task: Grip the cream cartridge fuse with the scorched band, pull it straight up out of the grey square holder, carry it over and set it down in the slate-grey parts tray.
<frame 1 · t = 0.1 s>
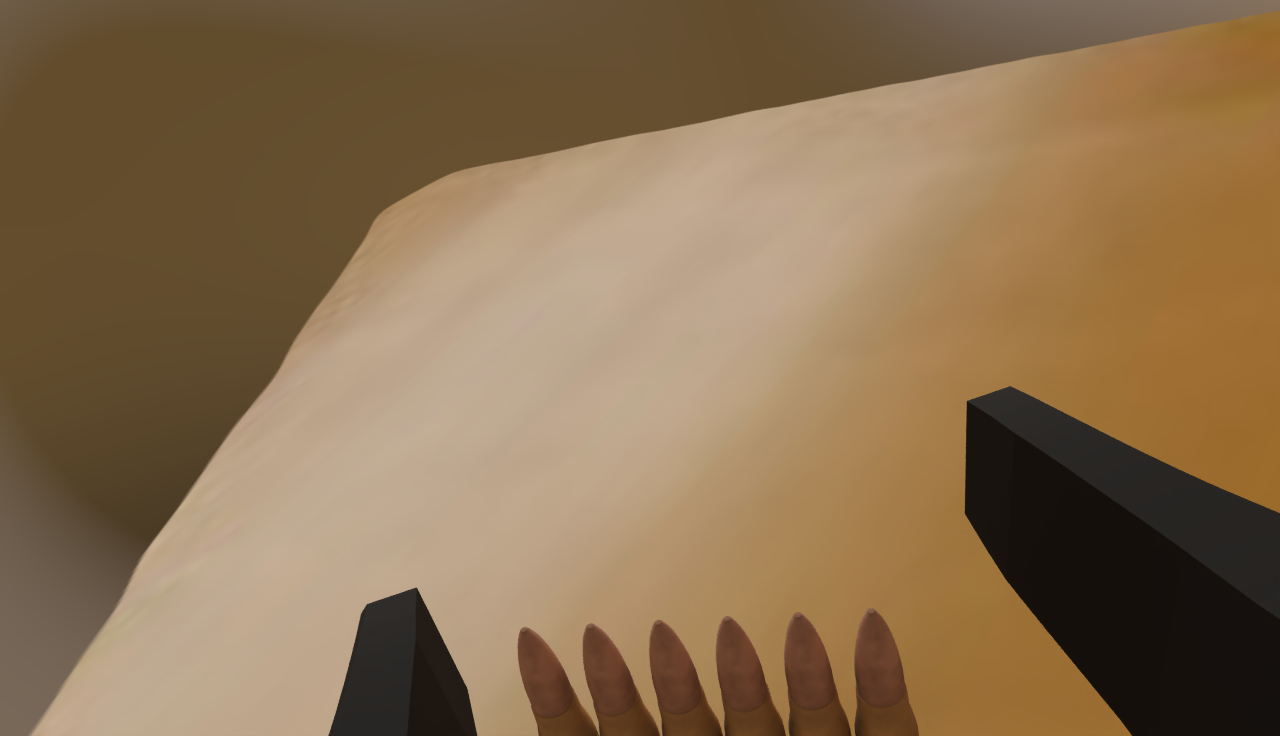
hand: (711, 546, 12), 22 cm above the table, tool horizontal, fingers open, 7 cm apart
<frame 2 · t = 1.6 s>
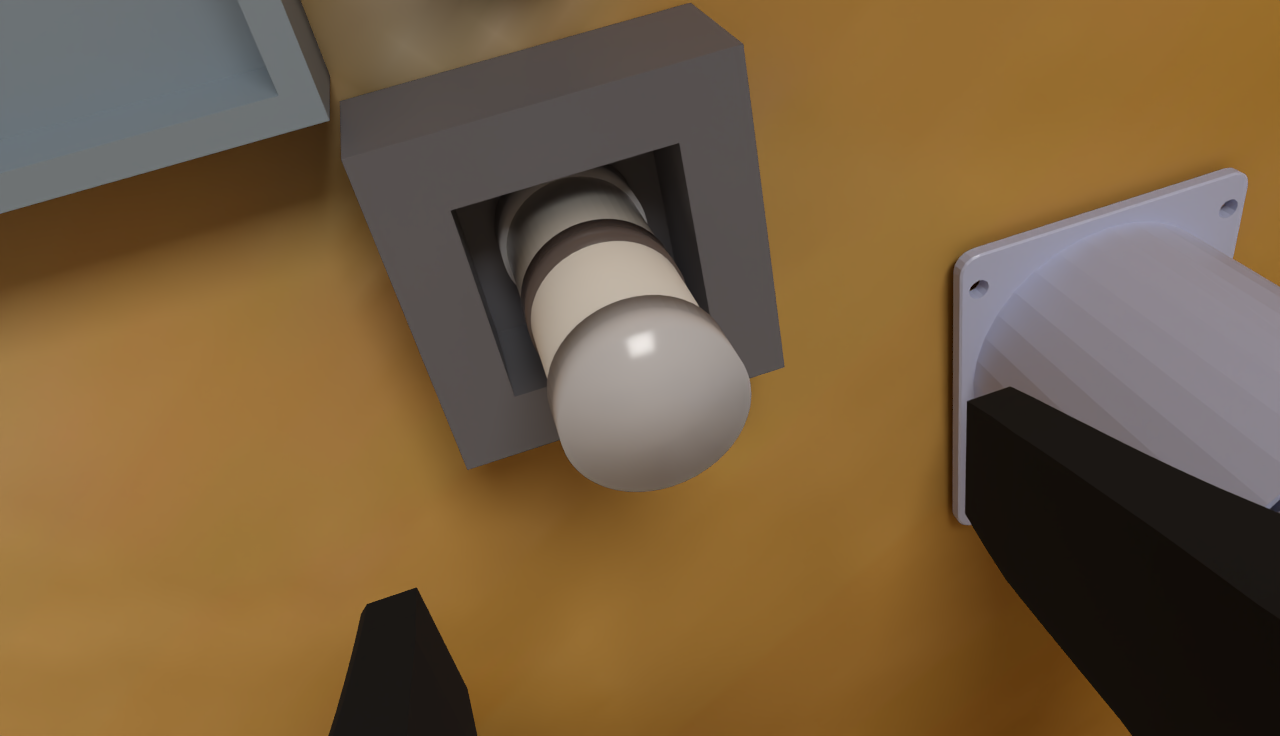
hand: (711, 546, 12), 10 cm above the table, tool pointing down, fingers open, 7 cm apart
grey square holder: (561, 211, 21), on the table
fuse: (566, 221, 20), point 1 cm above the table, touching grey square holder
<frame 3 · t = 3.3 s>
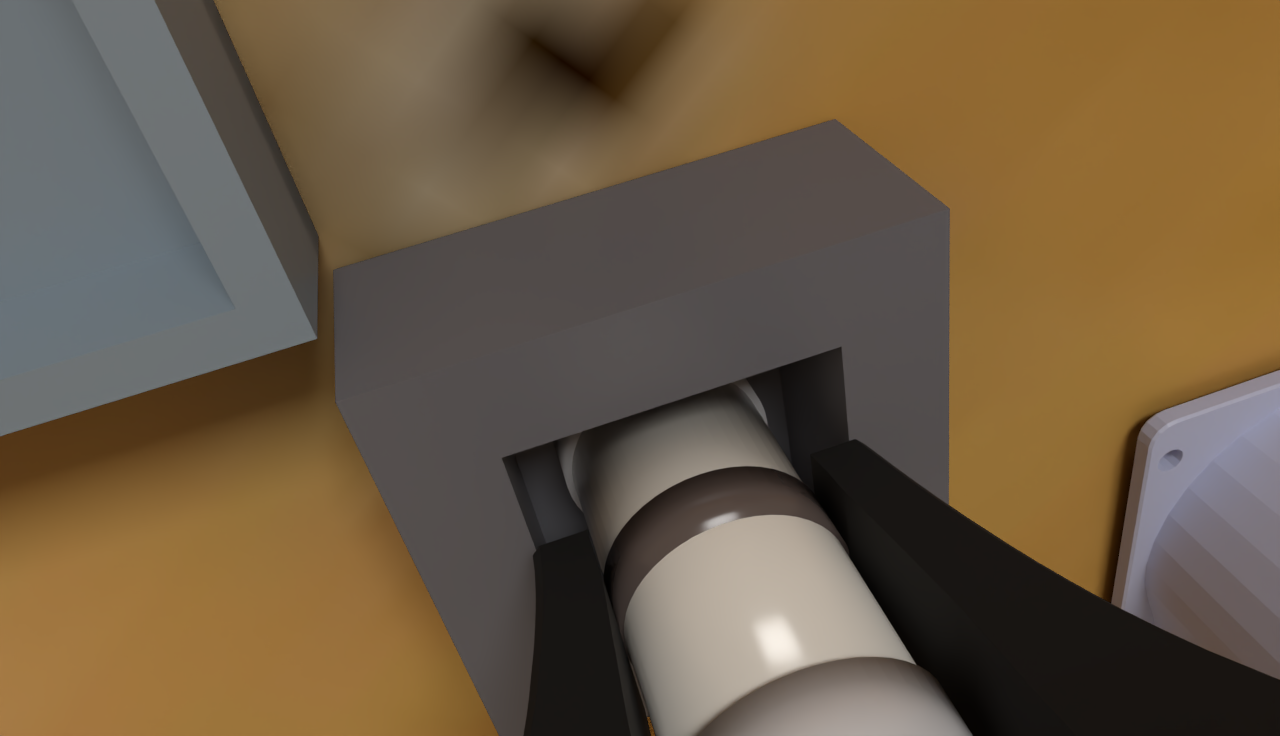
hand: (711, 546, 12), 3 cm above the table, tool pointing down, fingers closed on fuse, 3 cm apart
grey square holder: (640, 394, 15), on the table
fuse: (649, 413, 14), point 1 cm above the table, touching grey square holder, gripper
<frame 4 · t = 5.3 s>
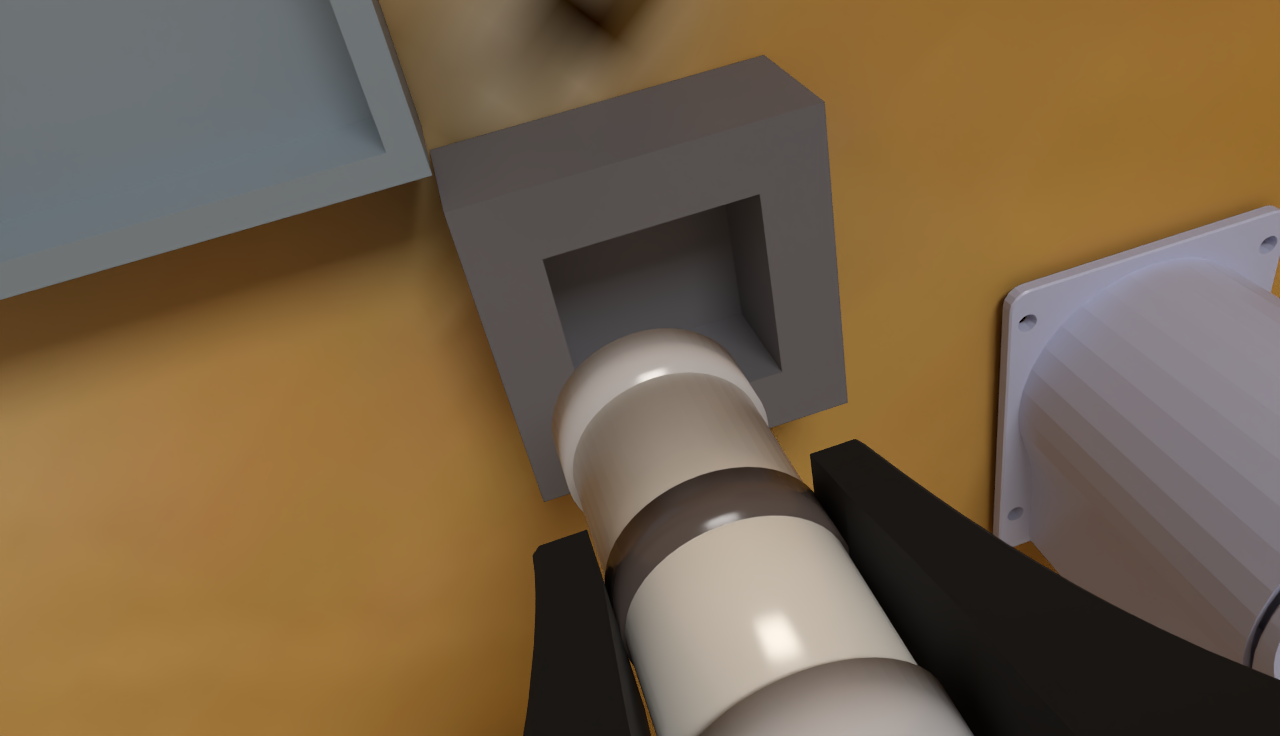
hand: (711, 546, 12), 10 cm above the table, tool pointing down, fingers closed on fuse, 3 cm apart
grey square holder: (633, 252, 21), on the table
fuse: (650, 414, 14), point 7 cm above the table, touching gripper
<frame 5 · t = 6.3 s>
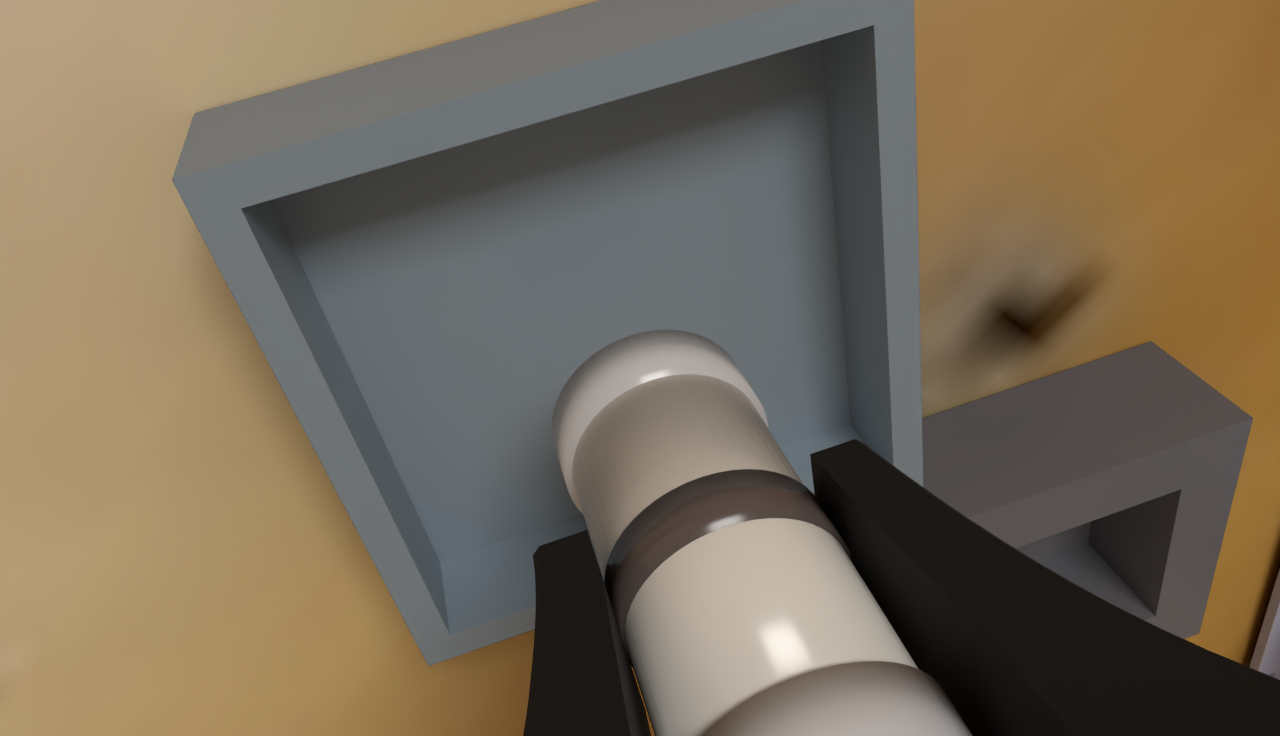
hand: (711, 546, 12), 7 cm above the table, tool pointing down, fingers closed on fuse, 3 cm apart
grey square holder: (1005, 498, 24), on the table
parts tray: (597, 297, 17), on the table
fuse: (650, 415, 14), point 4 cm above the table, touching gripper
when the fingers open (5 cm above the table, at t = 7.3 s): fuse drops 1 cm, resting on parts tray.
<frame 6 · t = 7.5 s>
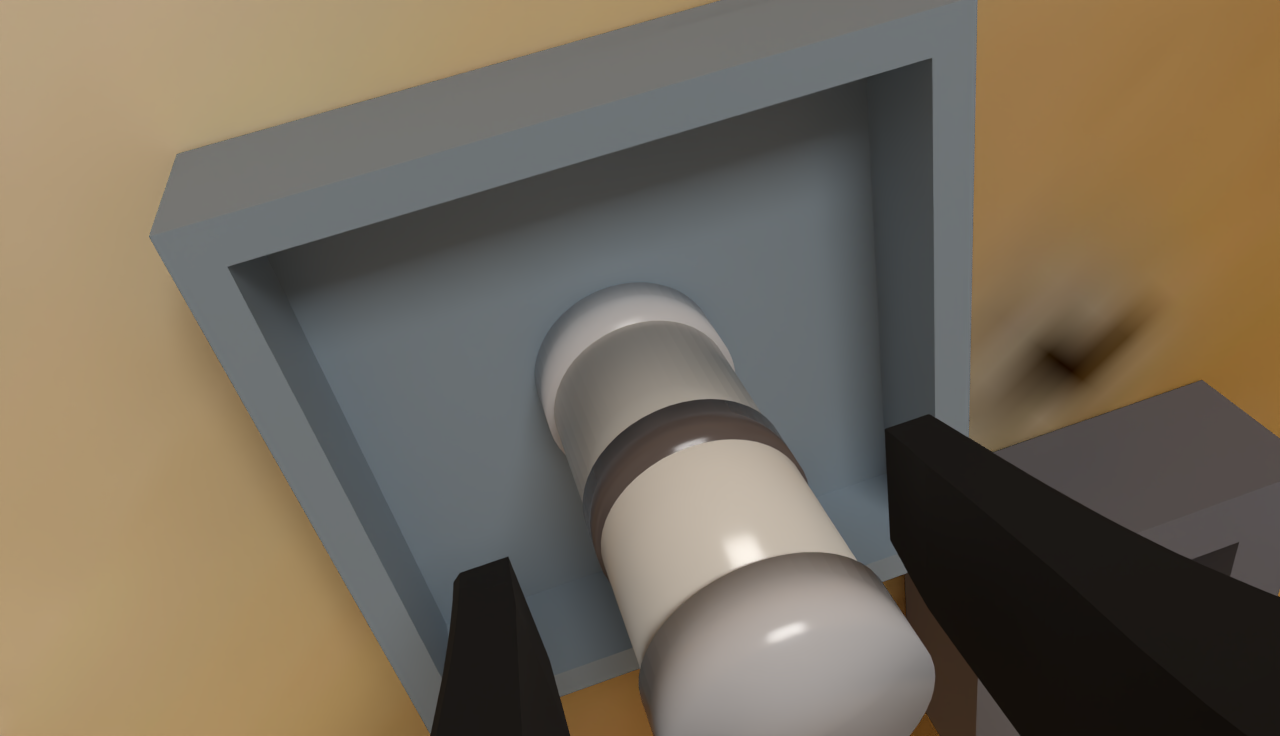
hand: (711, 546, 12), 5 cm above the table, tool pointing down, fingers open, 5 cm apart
grey square holder: (1044, 543, 22), on the table
parts tray: (617, 344, 16), on the table
fuse: (626, 364, 16), point 1 cm above the table, touching parts tray
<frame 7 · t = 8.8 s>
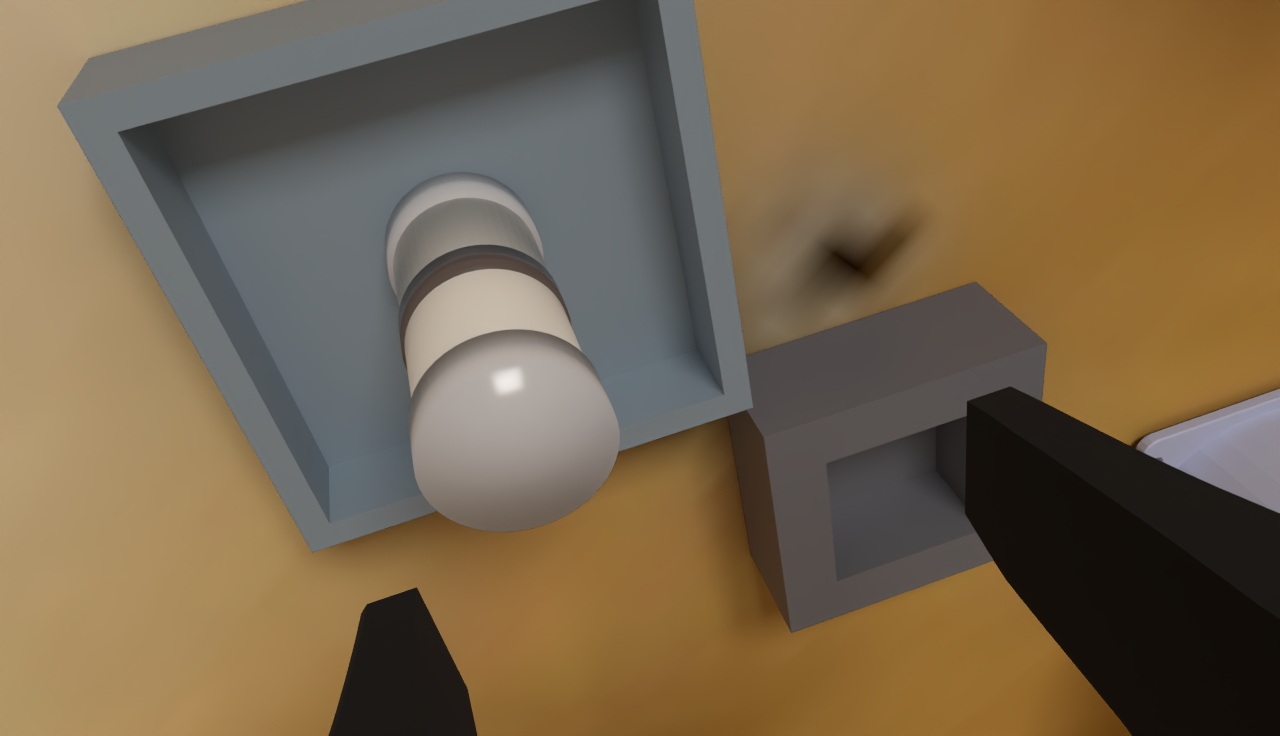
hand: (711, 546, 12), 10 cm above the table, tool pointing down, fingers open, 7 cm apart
grey square holder: (856, 426, 26), on the table
parts tray: (457, 229, 20), on the table
fuse: (461, 242, 19), point 1 cm above the table, touching parts tray
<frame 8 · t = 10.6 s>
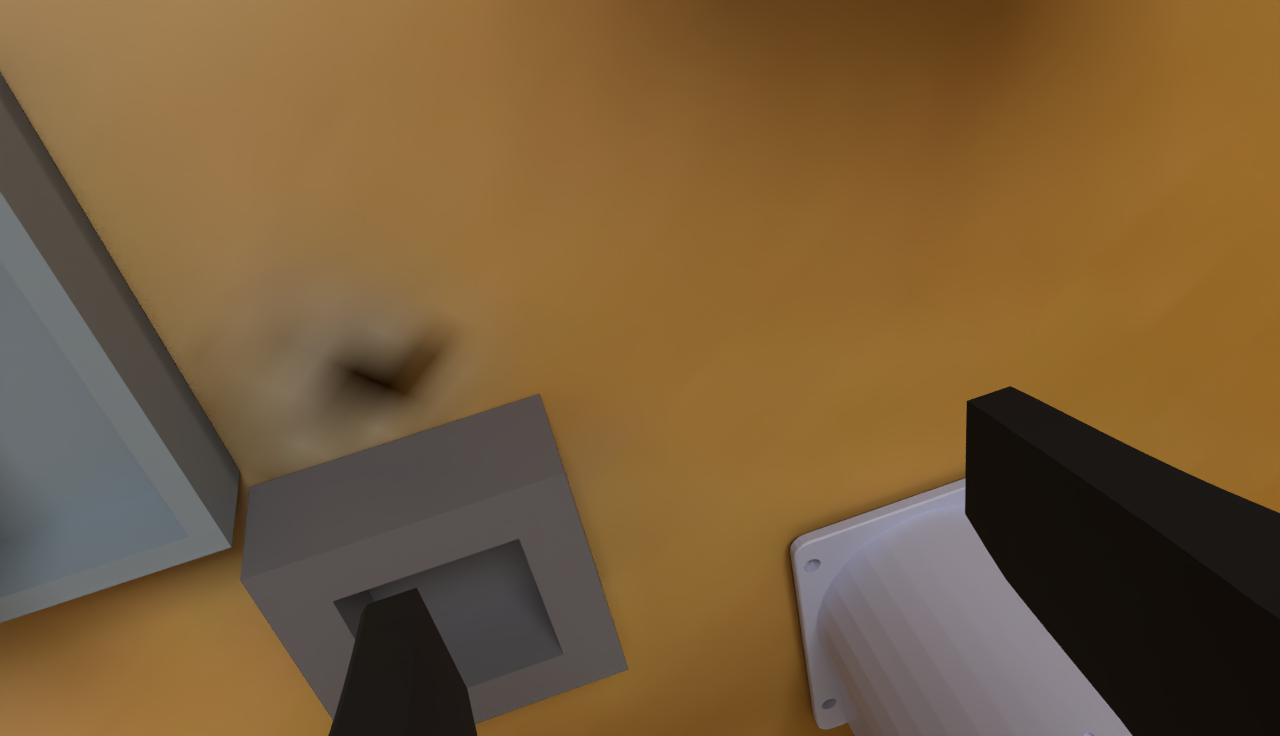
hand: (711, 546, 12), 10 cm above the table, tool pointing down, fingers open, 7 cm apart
grey square holder: (442, 540, 25), on the table
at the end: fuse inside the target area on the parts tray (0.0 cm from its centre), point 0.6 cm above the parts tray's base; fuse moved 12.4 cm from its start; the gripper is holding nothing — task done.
